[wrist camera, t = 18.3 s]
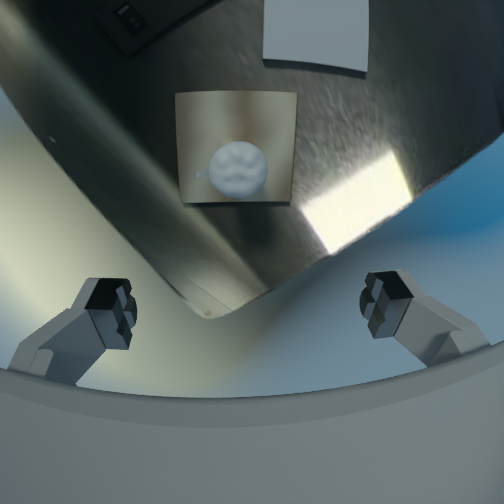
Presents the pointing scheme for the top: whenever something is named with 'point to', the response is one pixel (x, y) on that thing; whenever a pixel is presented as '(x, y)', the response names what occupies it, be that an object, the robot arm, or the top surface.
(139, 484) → the robot arm
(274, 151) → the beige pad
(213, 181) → the milkshake
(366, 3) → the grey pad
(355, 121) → the top surface
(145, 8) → the phone
